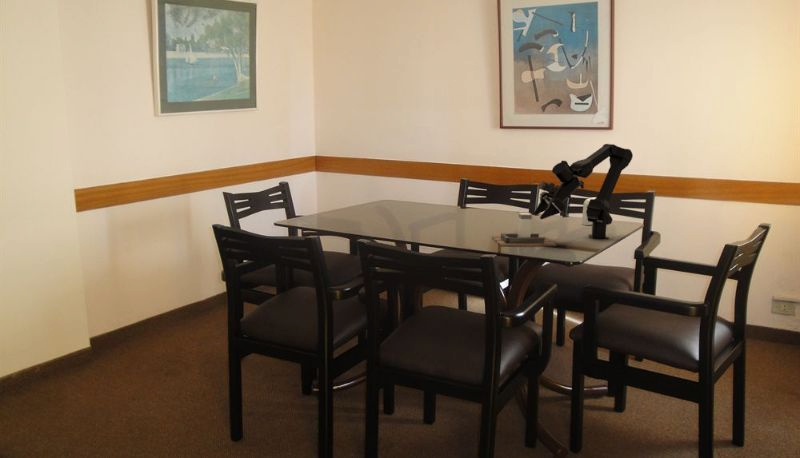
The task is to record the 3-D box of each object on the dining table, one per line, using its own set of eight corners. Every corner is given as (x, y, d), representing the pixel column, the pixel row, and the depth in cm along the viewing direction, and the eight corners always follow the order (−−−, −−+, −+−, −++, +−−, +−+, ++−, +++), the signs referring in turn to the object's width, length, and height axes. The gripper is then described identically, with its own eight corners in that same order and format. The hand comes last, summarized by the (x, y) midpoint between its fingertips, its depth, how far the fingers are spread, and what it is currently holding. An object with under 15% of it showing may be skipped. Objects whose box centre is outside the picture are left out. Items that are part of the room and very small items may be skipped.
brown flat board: (556, 246, 275) (557, 240, 274) (501, 246, 273) (501, 240, 272) (544, 237, 291) (545, 231, 290) (492, 237, 289) (492, 231, 288)
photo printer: (595, 222, 328) (597, 196, 326) (603, 224, 325) (605, 197, 322) (580, 224, 323) (582, 197, 320) (587, 226, 319) (589, 198, 317)
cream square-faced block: (530, 242, 280) (531, 214, 277) (520, 242, 279) (521, 214, 277) (527, 239, 284) (528, 212, 282) (517, 239, 284) (518, 212, 282)
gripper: (546, 171, 287) (518, 198, 288) (559, 177, 268) (529, 206, 270) (563, 191, 289) (536, 217, 290) (578, 197, 271) (549, 226, 272)
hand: (537, 216), depth 280 cm, fingers open, 9 cm apart
